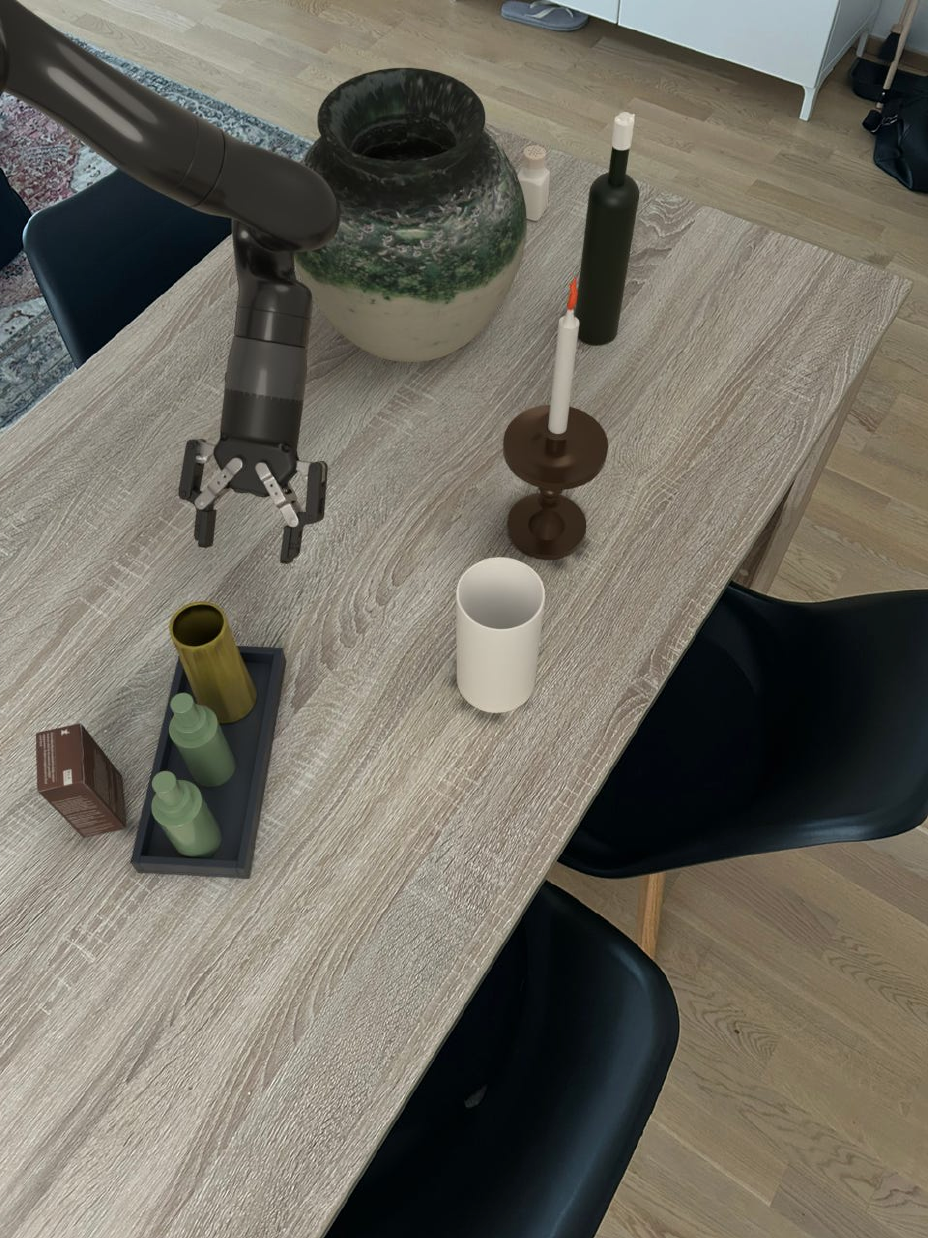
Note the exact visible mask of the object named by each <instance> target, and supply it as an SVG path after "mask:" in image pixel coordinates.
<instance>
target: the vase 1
mask: <svg viewBox="0 0 928 1238" xmlns="http://www.w3.org/2000/svg"><path fill="white" fill-rule="evenodd" d="M168 626H169V627H168V630H169V636H170V637H171V641H172V643H173V645H174V648H175V649H176V652H177V655H178V656H179V657H180V660H181V662H182V665H183V667H184V670H185V673H186V675H187V678H188V680H189V682H190V685H191V688H192V691H193V693H194V695H195V697H196V701H197V705H202V706H205V707H208V708H209V709H211V710H212V711H213V712H214V714H215V715H216V717H217V719H218V722H219V723H232V722H235V721H238V720H240V719H241V718H243V717H245V716H246V715H247V714H248V713H249V712H250V711H251V710H252V708H253V707H254V705H255V702H256V698H257V690H256V687H255V684H254V682H253V680H252V679H251V677H250V675H249V673H248V671H247V668H246V666H245V664H244V662H243V660H242V657H241V655H240V652H239V650H238V647H237V646H238V645H237V644H236V640H235V638H234V636H233V633H232V629H231V627H230V624H229V622H228V618H227V615H226V613H225V611H224V609H222V607H220V606H219V605H217V604H216V603H214V602H210V601H205V600H198V601H197V600H196V601H192V602H189V603H186V604H184V605H182V606H181V607H180V608H178V609H177V610H176V611H175V612H174V613H173V615H172V617H170V621H169V625H168Z"/></svg>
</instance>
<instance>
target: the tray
mask: <svg viewBox="0 0 928 1238" xmlns="http://www.w3.org/2000/svg"><path fill="white" fill-rule="evenodd" d="M237 647H238V650H239V652H240V655H241V657H242V660H243V662H244V664H245V666H246V668H247V671H248V673H249V675H250V677H251V679H252V680H253V682H254V684H255V687H256V690H257V698H256V702H255V705H254V707H253V708H252V710H251V711H250V712H249V713H248V714H247V715H246V716H245V717H243V718H241V719H240V720H238V721H235V722H232V723H219V724H220V726H221V729H222V731H223V733H224V735H225V738H226V740H227V742H228V744H229V747H230V749H231V751H232V754H233V756H234V758H235V770H234V773H233V775H232V776H231V777H230V779H229V780H228V781H226V782H225V783H224V784H222V785H219V786H216V787H204V786H201V785H199V784H198V783H197V782H196V781H195V780H194V779H193V777H192V776H191V774H190V772H189V770H188V768H187V766H186V764H185V763H184V761H183V759H182V757H181V755H180V753H179V752H178V750H177V748H176V746H175V744H174V742H173V740H172V739H171V737H170V734H169V725H170V722H171V720H172V718H173V716H174V712H173V710H172V708H171V705H170V704H171V700H172V698H173V697H174V696H175V695H177V694H179V693H187V694H189V695H191V696H192V698H193V700H194V702H195V704H197V701H196V697H195V695H194V693H193V691H192V688H191V685H190V682H189V680H188V678H187V675H186V673H185V670H184V667H183V665H182V662H181V660H180V657H179V655H178V656H177V660H176V661H177V662H176V665H175V669H174V674H173V678H172V682H171V686H170V691H169V695H168V699H167V703H166V708H165V713H164V717H163V720H162V725H161V730H160V734H159V737H158V738H159V739H158V741H157V747H156V751H155V755H154V758H153V764H152V768H151V772H150V777H149V780H148V783H147V789H146V793H145V798H144V801H143V805H142V806H143V807H142V810H141V815H140V818H139V824H138V828H137V833H136V835H135V841H134V845H133V849H132V853H131V858H130V861H129V862H130V865H131V866H132V867H133V869H135V871H136V873H138V874H151V875H152V874H154V875H172V876H189V877H205V878H206V877H208V878H227V879H242V880H243V879H245V880H249V879H251V873H252V868H253V860H254V856H255V849H256V843H257V838H258V832H259V827H260V819H261V814H262V808H263V802H264V797H265V791H266V785H267V778H268V774H269V773H268V772H269V766H270V761H271V755H272V749H273V745H274V744H273V742H274V737H275V733H276V732H275V731H276V725H277V721H278V720H277V719H278V713H279V709H280V703H281V697H282V696H281V695H282V689H283V686H284V685H283V684H284V678H285V673H286V667H287V660H286V659H287V658H286V655H285V651H284V648H283V647H274V646H273V647H271V646H254V645H253V646H251V645H250V646H249V645H237ZM162 771H169V772H171V773H173V774H174V775H175V777H176V779H177V780H185V781H189V782H191V783H193V784H194V785H196V786H197V787H198V789H199V790H200V792H201V794H202V796H203V798H204V799H205V801H206V803H207V805H208V807H209V809H210V811H211V812H212V814H213V816H214V818H215V820H216V822H217V824H218V825H219V827H220V829H221V833H222V839H221V844H220V846H219V848H218V850H217V851H216V852H215V853H214V854H213V855H212V856H211V857H209V858H207V859H197V858H182V857H181V856H180V855H179V854H178V852H177V851H176V849H175V848H174V846H173V845H172V843H171V842H170V840H169V839H168V837H167V836H166V834H165V833H164V831H163V830H162V828H161V827H160V825H159V824H158V822H157V821H156V819H155V818H154V816H153V814H152V809H151V805H152V800H153V798H154V795H155V794H156V792H155V791H154V789H153V787H152V780H153V778H154V777H155V775H157V774H158V773H160V772H162Z"/></svg>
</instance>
